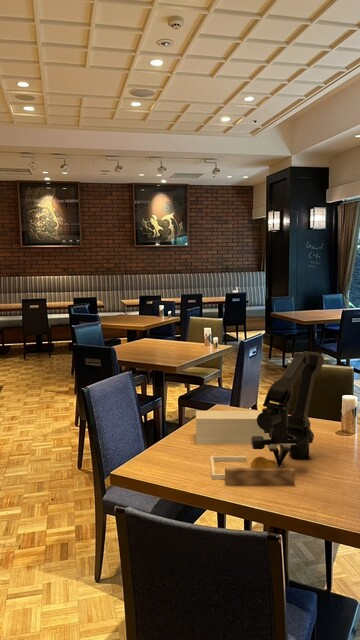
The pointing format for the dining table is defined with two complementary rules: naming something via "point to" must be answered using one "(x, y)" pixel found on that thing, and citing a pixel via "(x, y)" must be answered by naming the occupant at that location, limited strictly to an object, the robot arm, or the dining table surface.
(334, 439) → the dining table surface
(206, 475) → the dining table surface
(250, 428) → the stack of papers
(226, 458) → the serving bay
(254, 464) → the bread roll
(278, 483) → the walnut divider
